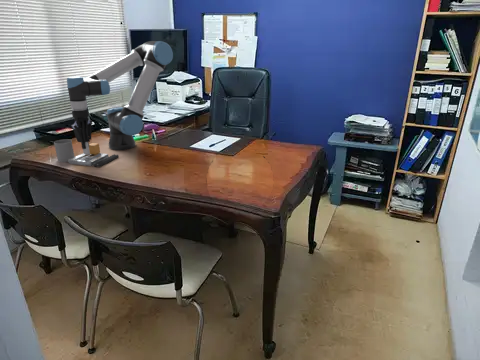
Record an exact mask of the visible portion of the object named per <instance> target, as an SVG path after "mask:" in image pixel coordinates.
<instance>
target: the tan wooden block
mask: <svg viewBox="0 0 480 360" xmlns="http://www.w3.org/2000/svg"><path fill="white" fill-rule="evenodd" d="M89 151H90V154H93V155H96V154H98V153H101V149H100V144H99V143H98V142H92V143H89Z"/></svg>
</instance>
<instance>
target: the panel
mask: <svg viewBox="0 0 480 360" xmlns="http://www.w3.org/2000/svg"><path fill="white" fill-rule="evenodd" d="M108 157H110V155H109V154H108V153H102V152H100V153H98V154H96V155H93V154H89V155H86V154H84V153H83V152H82V153H80V154H77V155H76V156H75V157H73V158H71V159H69V160H68V162H67V163H68V164H71V165H79V166H86V167H94V164H95V163H97V162H99V161H101V160H103V159H105V158H108Z"/></svg>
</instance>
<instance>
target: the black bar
mask: <svg viewBox="0 0 480 360" xmlns="http://www.w3.org/2000/svg"><path fill="white" fill-rule="evenodd" d="M115 159H119V154H115V153H114V154H111V155H109V157H108V158H105V159H103V160H101V161H99V162H97V163H95V164H94V165H93V167H95V168H101V167H102V166H104V165H106V164H108V163H110V162H112V161H113V160H115Z"/></svg>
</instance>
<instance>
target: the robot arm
mask: <svg viewBox="0 0 480 360" xmlns="http://www.w3.org/2000/svg"><path fill="white" fill-rule="evenodd" d="M173 59H174V53H173V49H172V47H171V46H170V45H169V44H168V43H167V42H164V41H162V40H158V41H156V40H149V41H146V42H144V43H143V44H140V45H138V46H137V47H135V48H133V49H132V50H131V53H129V54H127V55H125V56H124V57H121V58H120V59H118V60H116V61H114V62H112V63H110V64H109V65H107V66H105V67H104V68H102V69H100V70H98V71H96V72H94V73H92V74H91V75H88V76H84V77H82V76H68V77H66V84H67V86H66V87H67V92H68V97H69V98H68V99H69V103H70V109H71V115H72V118H73V119H74V120H73V122H74V123H73V124H71V125H70V127H71V129H72V130H73V133H74V136H75V139H76V140H77V142H78V143H81V149H82V154H83V153H84V154H86V155H89V154H90V151H89V144H90V142H91V140H92V124H93V120H91V119H89V115H90V114H89V109H88V101H87V97H93V96H94V97H95V96H96V97H97V96H106V95H109V94H110V92H111V86H110V83H111V82H112V81H113V82H114V81H115V80H117V79H118V78H120V77H121V76H124V74H126V73H128V72H130V71H132V70H134V69H135V68H137V67H142V66H143V68H142V70H141V72H140V75H139V78H138V79H137V82H136V84H135V87H134V90H133V91H132V93H131V96H130V99H129V100H128V103H127V104H126V105H124V106H120V107H119V106H118V107H112V108H108V109H107V110H106V113H107V114H106V116H107V121H108V127H109V134H110V135H109V140H108V148H109V149H110V150H113V151H114V150H116V151H123V150H130V149H133V148H135V147H136V141H135V139H134V137H133V136H136V135H138V134H139V133H140V132H141V131H142V130H143V128H144V122H143V118H144V115H145V114H144V112H143V111H144V110H145V107H146V104H147V102H148V100H149V99H150V96H151V93H152V91H153V89H154V86H155V84H156V81H157V79H158V76H159V74H160V73H161V72H164V71H165V68H166V66H167V65H169V64H170V63H171V62H172V61H173Z"/></svg>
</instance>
